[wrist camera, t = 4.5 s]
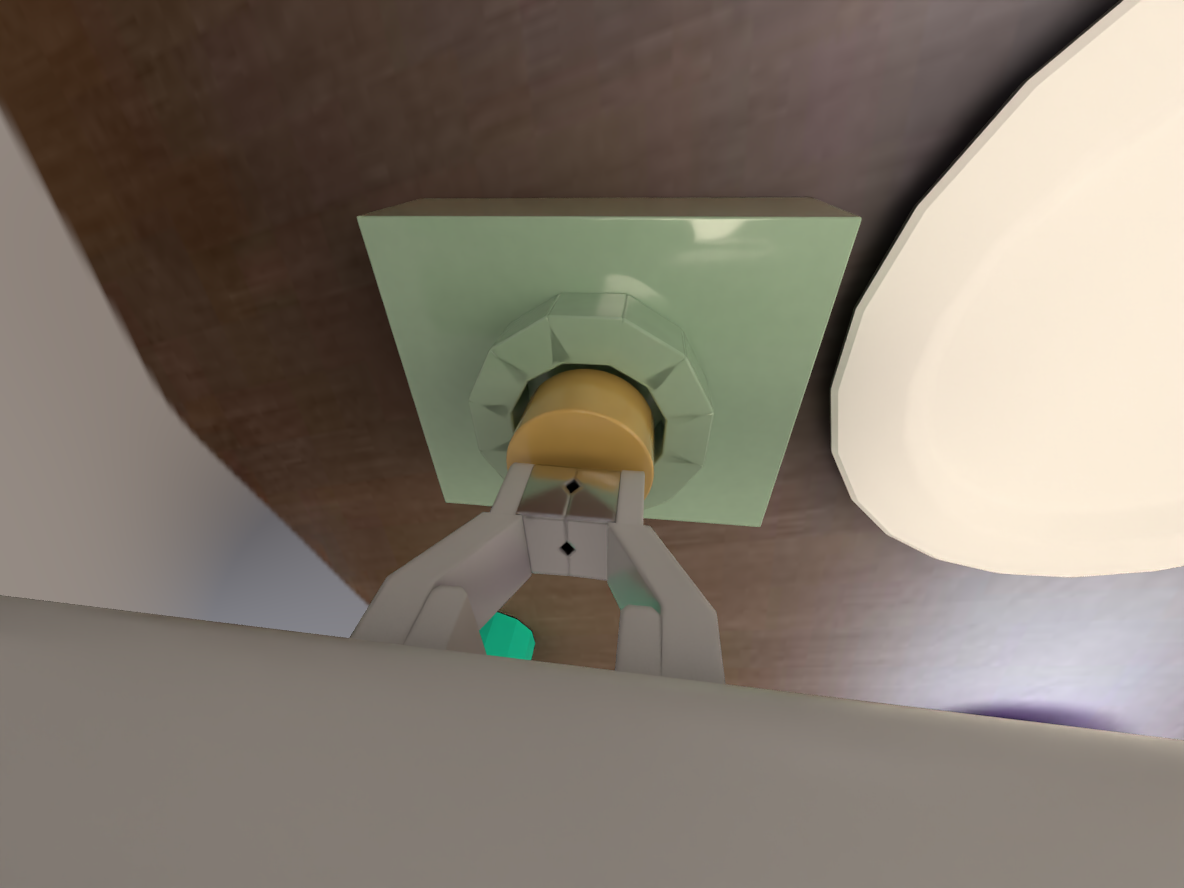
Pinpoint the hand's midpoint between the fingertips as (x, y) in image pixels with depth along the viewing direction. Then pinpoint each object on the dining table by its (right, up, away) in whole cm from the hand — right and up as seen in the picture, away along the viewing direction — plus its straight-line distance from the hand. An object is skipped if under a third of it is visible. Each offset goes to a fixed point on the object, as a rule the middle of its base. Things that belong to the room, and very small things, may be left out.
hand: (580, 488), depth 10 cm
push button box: (+1, +5, +6) cm, 8 cm away
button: (0, +2, +2) cm, 3 cm away
